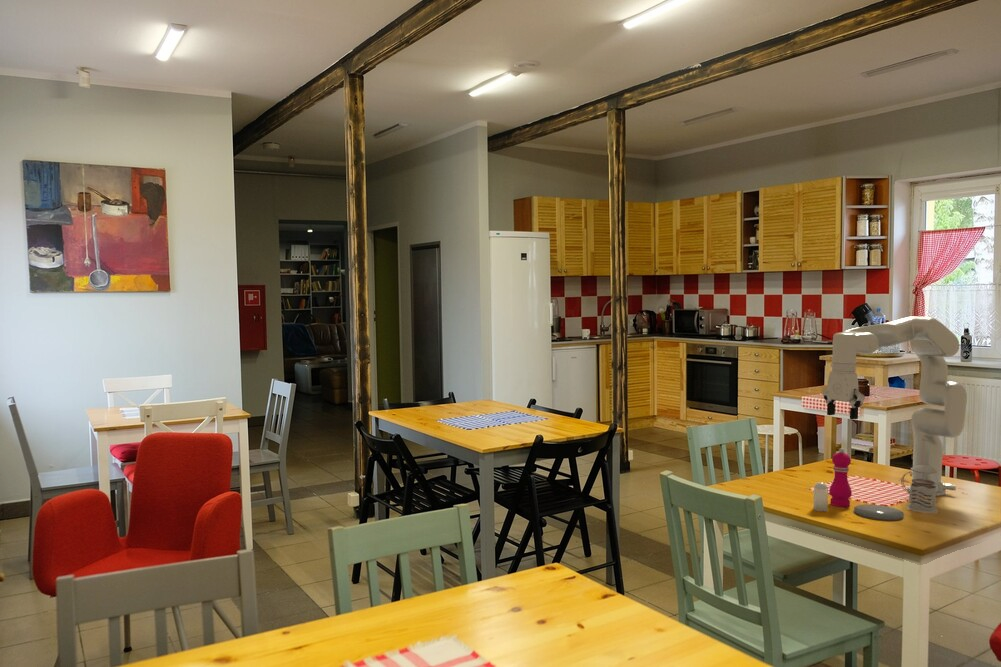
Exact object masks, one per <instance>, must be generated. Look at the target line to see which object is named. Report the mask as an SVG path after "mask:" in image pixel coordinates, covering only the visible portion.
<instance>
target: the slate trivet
mask: <svg viewBox="0 0 1001 667" xmlns="http://www.w3.org/2000/svg"><path fill="white" fill-rule="evenodd" d="M853 512H854V514H856V515H857V516H859V517H862V516H863V517H862V518H867V519H871V520H875V521H876V520H877V521H889V522H890V521H891V522H892V521H893V522H894V521H901V520H903V519H904V518H905V513H904V512H903V511H902V510H900V509H898V508H895V507H891V506H886V505H880V504H858V505H855V506H854V507H853Z"/></svg>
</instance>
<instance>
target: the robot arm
mask: <svg viewBox="0 0 1001 667" xmlns="http://www.w3.org/2000/svg"><path fill="white" fill-rule="evenodd" d="M832 338H833V339H832V361H831V362H832V363H831V364H830V368H831V370H830V371H829V374H828V378H827V385H826V386H827V387H826V388H825V389H822V391H821V393H822V395H823V400H825V404H826V406H827V408H826V409H827V410H826V414H827V416H835V415H836V403H835V402H836V401H838V402H848V403H849V405H850V406H851V407H850V408H849V419H850V420H858V419H859V408H860V407H861V406H862V405H863V403H864V401H865V399H866V396H865V394H863V393H861V392H860V391H859V380H858V379H859V378H858V374H857V371H856V368H857V354H862V355H864V354H865V355H868V354H869V355H870V354H872V353H875V352H876V351H877V350H878V348H879V347H893V346H896V345H900V344H903V343H907V342H909V347H910V349H911V350H912V351H913V352H914V353H915V354H916V356H917V357H918V359H919V362H920V365H921V372H920V373H921V376H920V381H919V382H920V383H919V390H918V391H919V394H918V397H919V399H920V401H921V402H922V403H923V404H927V405H931V406H938V407H944V410H943V409H936V408H931V407H921V408H917V409H915V410H914V411H913V413H912V415H911V419H910V420H911V421H910V423H911V428H912V433H913V450H912V451H913V452H912V453H913V456H912V467H914V466H917V465H926V466H930V467H932V468H934V469H935V470H936V471H937V473H934V474H927V473H924V480H929V481H930V480H931V481H933V482H935V484H934V485H933V486H935V487H936V497H939V496H945V495H946V492H947V491H946V490H949V491H956V490H957V489H956V487H957V486H956V484H951V483H944V482H943V480H942V473H943V470H942V469H943V452H944V451H943V450H944V449H943V443H942V441H941V439H940V437H944V438H950V439H951V438H953V439H955V438H957V437H959V436H960V435H961V434H962V433H963V430H964V425H965V419H966V410H967V402H968V395H967V390H966V388H965V387H964V385H962V384H961V383H960V382H956V381H951V380H950V381H948V371H949V370H948V369H949V368H948V364H947V361H946V359H945V358H950V357H953V356H955V355H956V354H958V352H959V350H960V341H959V339H958V337H957V336H956V335H955V333H954V332H953V331H951V330H950V329H949V328H948V327H947V326H946V325H945V324H943V323H942V322H940V321H939V320H938V319H936V318H934V317H932V316H931V317H930V316H907V317H902V318H899V319H895V320H891V321H889V322H884V323H876V324H872V325H866V326H859V327H855V328H854V327H853V328H851V329H848V330H844V331H841V332H836V333H834V334H833V337H832ZM923 437H925V438H927V439H928V441H925V458H924V441H922V438H923ZM911 477H912V478H911V480H912V479H923V473H919V472H915V471H912V476H911ZM911 482H912V481H911ZM912 483H913V482H912ZM912 483H911V484H912ZM911 484H910V485H908V486H907V487H906V489H907V490H908V491H907V490H906V491H907V492H909V491H910V486H911ZM918 488H927V487H924V486H920V487H918ZM927 489H928V488H927ZM916 492H920V491H916ZM922 495H924V496H926V495H925V494H922ZM930 496H932V495H930Z"/></svg>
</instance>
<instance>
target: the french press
mask: <svg viewBox="0 0 1001 667" xmlns="http://www.w3.org/2000/svg"><path fill="white" fill-rule="evenodd" d="M922 441H924V458H925V441H928V439H927V438H925V437H923V438H922ZM913 471H915V472H919V473H923V479H912V478H911V482H913V483H910V485H911V486H910V485H909V486H910V491H908V490H907V487H905V484H904V479H905V477H906V475H907V474H909V476H910V477H913ZM924 473H927V474H934V473H937V471H936V470H935V469H934V468H932V467H930V466H926V465H917V466H914V467H913V466H912V467H910V471H908V472H906V473H904V474H903V475H902V477H901V487H902V489H903V490H904V491H905V492H906V493H908V495H909V498H908V499H909V500H908V503H909V504H908V505H907V506H906V509H908V510H910V511H912V512H916V513H921V514H922V513H923V514H936V513H939V510H938V508H936V501H937V500H936V497H937V496H936V487H935V486H933V485H934V484H935V482H933V481H931V480H930V481H929V480H924ZM920 486H924V487H927V488H928V489H927V488H918V487H920ZM916 491H920V492H916ZM922 494H925V495H922ZM930 495H932V496H930Z"/></svg>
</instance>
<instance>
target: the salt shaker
mask: <svg viewBox="0 0 1001 667" xmlns="http://www.w3.org/2000/svg"><path fill="white" fill-rule="evenodd" d="M828 497H829V488H828V485H827V484H826V483H825V482H822V481H819V482H816V484H814V486H813V510H814V509H815V510H814V511H816V510H818V511H817V512H823V511H824V512H827V511H828V505H829V504H828Z"/></svg>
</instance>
